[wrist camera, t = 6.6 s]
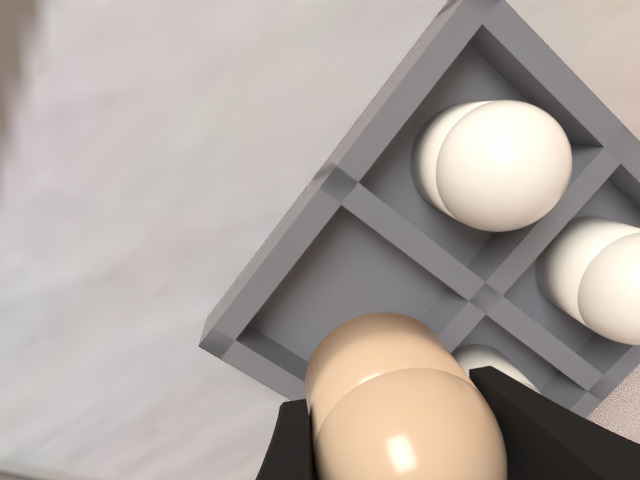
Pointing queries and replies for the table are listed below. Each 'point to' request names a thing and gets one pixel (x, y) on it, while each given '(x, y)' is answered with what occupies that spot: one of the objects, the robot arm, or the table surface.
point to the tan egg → (397, 407)
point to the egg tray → (437, 226)
